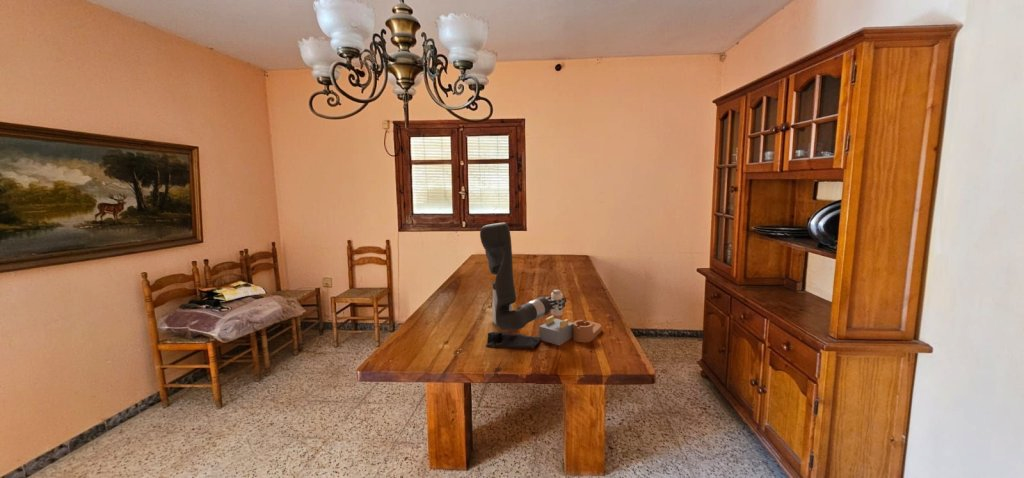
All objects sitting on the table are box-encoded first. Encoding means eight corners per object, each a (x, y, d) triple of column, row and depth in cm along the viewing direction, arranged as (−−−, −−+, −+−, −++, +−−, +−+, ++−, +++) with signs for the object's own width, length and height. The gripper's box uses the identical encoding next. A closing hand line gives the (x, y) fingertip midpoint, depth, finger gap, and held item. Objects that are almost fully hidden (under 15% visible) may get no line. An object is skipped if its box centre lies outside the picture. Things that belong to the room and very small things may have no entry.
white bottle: (553, 316, 166) (553, 292, 165) (549, 312, 171) (549, 289, 169) (564, 315, 168) (564, 291, 166) (559, 311, 172) (559, 288, 171)
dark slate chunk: (533, 354, 157) (533, 342, 157) (482, 347, 165) (482, 336, 164) (543, 339, 172) (543, 328, 171) (496, 333, 179) (495, 323, 178)
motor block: (559, 345, 163) (559, 325, 162) (539, 339, 170) (539, 320, 168) (577, 334, 175) (577, 315, 173) (558, 329, 181) (558, 311, 180)
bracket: (588, 344, 164) (588, 328, 163) (570, 340, 169) (569, 324, 168) (603, 329, 179) (603, 315, 178) (586, 326, 184) (586, 312, 183)
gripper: (551, 302, 152) (574, 292, 165) (522, 296, 162) (546, 287, 175) (551, 321, 154) (574, 310, 166) (522, 314, 163) (546, 304, 176)
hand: (560, 298), depth 170 cm, fingers closed on white bottle, 4 cm apart
